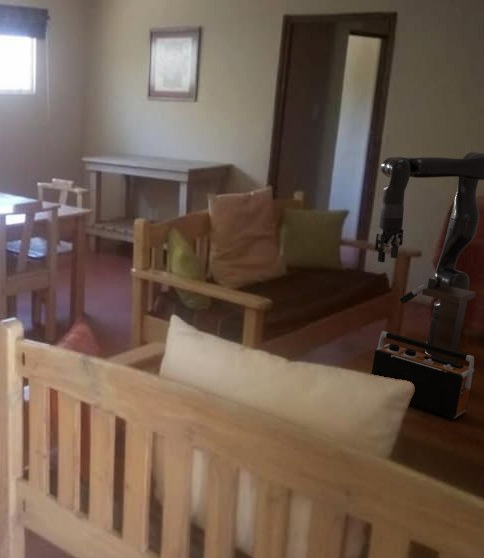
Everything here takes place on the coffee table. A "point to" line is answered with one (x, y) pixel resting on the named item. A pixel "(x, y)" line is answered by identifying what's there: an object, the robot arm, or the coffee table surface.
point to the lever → (414, 292)
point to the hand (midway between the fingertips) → (387, 259)
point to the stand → (448, 315)
